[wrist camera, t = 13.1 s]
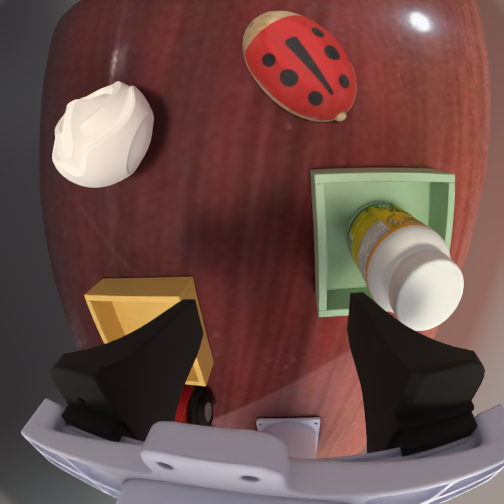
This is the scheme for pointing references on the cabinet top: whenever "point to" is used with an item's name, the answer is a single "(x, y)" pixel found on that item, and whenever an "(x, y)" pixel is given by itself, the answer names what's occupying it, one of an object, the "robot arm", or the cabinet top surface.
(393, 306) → the supplement bottle
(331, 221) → the sage bin
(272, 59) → the ladybug figurine
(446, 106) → the cabinet top surface
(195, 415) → the toy train
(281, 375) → the cabinet top surface
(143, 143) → the white lumpy ball
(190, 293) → the ochre bin
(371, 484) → the robot arm
